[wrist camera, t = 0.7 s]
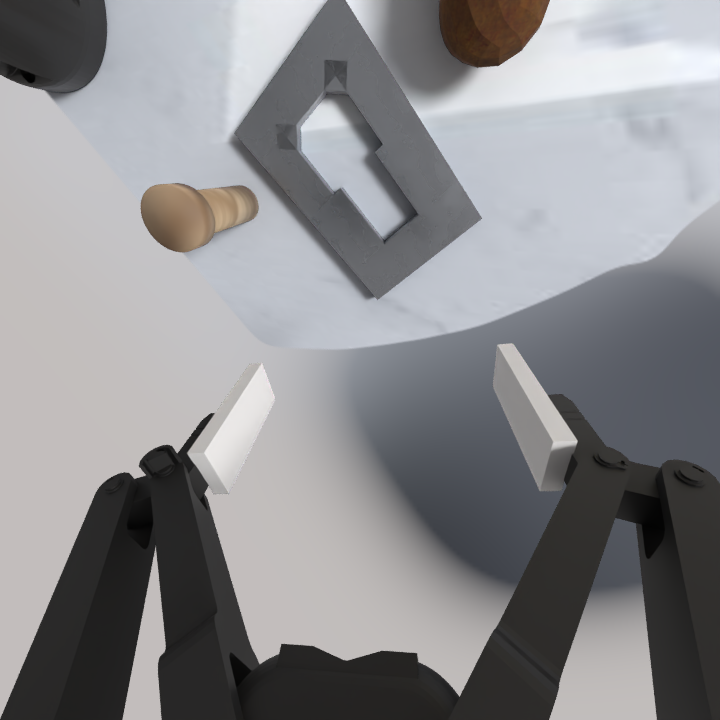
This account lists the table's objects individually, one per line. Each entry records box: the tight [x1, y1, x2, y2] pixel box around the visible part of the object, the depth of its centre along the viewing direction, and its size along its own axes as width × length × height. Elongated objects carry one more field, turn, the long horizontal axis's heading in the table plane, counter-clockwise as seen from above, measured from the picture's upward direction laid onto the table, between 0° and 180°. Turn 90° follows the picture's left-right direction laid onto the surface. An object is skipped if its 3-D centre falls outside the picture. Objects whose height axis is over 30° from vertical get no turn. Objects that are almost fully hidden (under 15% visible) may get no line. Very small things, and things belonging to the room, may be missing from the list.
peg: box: [141, 183, 258, 252], centre depth 29 cm, size 5×5×13 cm
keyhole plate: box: [234, 0, 482, 300], centre depth 31 cm, size 22×14×2 cm, turn 41°
